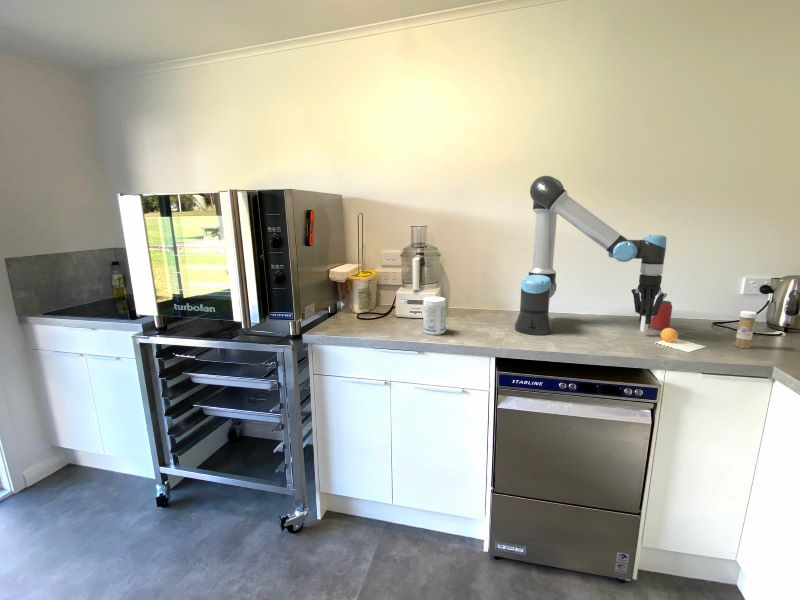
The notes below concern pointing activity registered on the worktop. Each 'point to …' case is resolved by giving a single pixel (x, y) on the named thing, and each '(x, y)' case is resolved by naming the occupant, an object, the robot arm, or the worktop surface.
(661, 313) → the beer can
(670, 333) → the ball
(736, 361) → the worktop surface
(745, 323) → the sprinkles bottle
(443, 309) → the supplement tub
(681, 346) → the spiral notepad
